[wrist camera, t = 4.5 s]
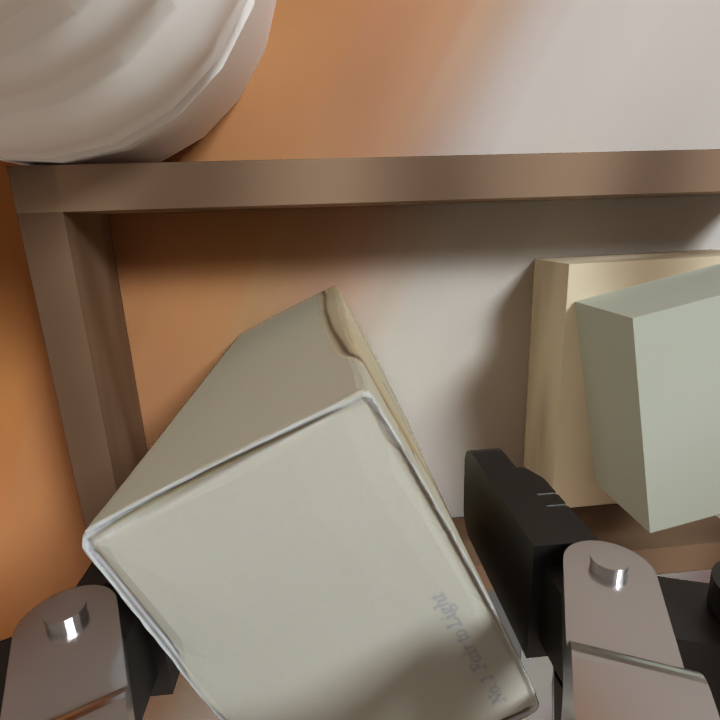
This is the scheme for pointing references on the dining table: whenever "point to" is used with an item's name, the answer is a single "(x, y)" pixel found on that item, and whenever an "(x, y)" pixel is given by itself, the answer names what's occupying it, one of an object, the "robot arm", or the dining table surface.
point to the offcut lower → (577, 360)
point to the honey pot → (121, 75)
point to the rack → (279, 191)
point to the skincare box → (306, 543)
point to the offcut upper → (655, 396)
